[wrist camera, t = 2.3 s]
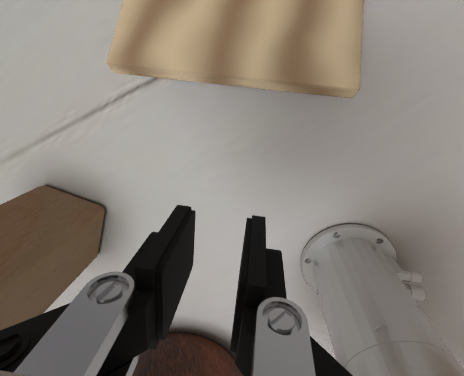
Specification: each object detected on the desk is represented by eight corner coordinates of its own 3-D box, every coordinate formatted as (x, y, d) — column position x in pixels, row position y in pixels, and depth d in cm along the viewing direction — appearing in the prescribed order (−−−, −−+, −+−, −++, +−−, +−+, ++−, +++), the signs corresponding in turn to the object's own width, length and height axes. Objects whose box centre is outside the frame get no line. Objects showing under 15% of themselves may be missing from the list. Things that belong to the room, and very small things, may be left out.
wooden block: (43, 181, 37) (-174, 280, 19) (108, 205, 37) (-41, 326, 19) (40, 235, 41) (-140, 360, 23) (100, 256, 41) (-30, 396, 23)
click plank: (357, 4, 25) (364, -9, 23) (352, 98, 23) (359, 89, 21) (137, -14, 26) (131, -28, 25) (114, 72, 24) (106, 62, 23)
